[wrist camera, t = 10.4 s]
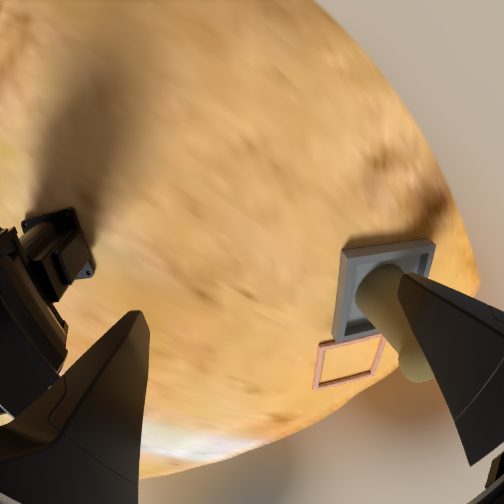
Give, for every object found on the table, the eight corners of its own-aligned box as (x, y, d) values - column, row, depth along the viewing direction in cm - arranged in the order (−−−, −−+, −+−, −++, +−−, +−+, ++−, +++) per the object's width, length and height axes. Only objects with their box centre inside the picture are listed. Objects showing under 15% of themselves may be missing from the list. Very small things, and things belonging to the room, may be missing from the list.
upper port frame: (312, 388, 33) (313, 391, 33) (318, 344, 29) (319, 347, 28) (372, 372, 34) (373, 375, 33) (387, 328, 29) (389, 330, 29)
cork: (350, 279, 25) (408, 367, 15) (403, 254, 24) (473, 326, 14) (358, 321, 27) (403, 402, 18) (405, 298, 27) (459, 368, 17)
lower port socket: (331, 333, 28) (335, 343, 27) (341, 250, 23) (347, 258, 22) (407, 314, 29) (413, 322, 27) (427, 238, 24) (436, 244, 23)
